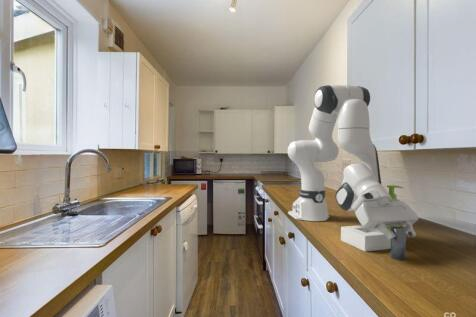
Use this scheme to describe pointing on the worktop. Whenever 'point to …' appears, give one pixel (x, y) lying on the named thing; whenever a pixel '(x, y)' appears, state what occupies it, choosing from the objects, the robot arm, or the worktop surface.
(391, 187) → the soap dispenser
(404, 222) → the robot arm
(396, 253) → the metal peg
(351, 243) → the socket block
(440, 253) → the worktop surface
